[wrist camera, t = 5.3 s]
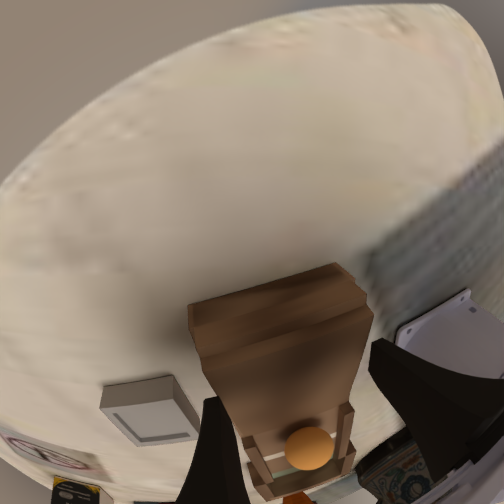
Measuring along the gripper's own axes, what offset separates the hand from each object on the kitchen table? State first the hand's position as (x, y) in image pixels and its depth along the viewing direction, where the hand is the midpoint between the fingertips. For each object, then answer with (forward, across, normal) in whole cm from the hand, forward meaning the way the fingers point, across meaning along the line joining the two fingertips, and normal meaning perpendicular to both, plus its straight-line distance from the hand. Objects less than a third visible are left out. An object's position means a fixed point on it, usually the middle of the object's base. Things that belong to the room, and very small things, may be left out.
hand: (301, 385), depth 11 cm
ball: (+1, 0, +9) cm, 9 cm away
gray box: (+4, +9, +4) cm, 11 cm away
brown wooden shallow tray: (+4, 0, +11) cm, 12 cm away
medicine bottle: (+5, +30, +23) cm, 38 cm away
